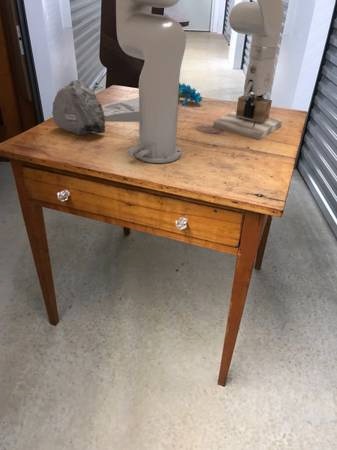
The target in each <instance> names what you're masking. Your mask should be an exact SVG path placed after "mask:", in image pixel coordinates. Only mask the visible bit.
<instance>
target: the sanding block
mask: <svg viewBox="0 0 337 450" xmlns="http://www.w3.org/2000/svg"><path fill="white" fill-rule="evenodd" d="M250 97H251V98H252V99H253V96H250ZM237 100H238V101H237V106H236V110H237V111H236V110H235V111H236V117H239V118H243V119H247V120H251V121H254V122H258V123H263V122H265V121H266V120H268V118H269V117H270V111H271V107H272V102H273V100H271V99H268V98H260V97H256V100H255V103H254V105H255V110H254V115H253V118H247V117H244V116H243V114H244V107H245V99H244V97H243V95H240V96H239V97H238V99H237Z"/></svg>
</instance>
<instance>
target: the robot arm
mask: <svg viewBox="0 0 337 450" xmlns="http://www.w3.org/2000/svg"><path fill="white" fill-rule="evenodd" d="M179 2H180V0H115V15H116V17H115V19H116V23H115V24H116V25H115V26H116V37H117V42H118V44H119V45H118V46H119V47H120V48H121V50H122V51H123V52H124V53H125V54H126V55H128V56H130V57H133V58H135V59H140V60H142V61H144V63H143V66H142V69H141V72H140V75H139V79H138V98H139V122H138V124H139V125H138V132H139V134H138V137H139V138H138V139H136V144H135V146H132V147H130V148H128V149H127V151H126V153H127V155H128V157H133V156H135V157H136V158H137V159H139V160H140V161H142V162H147V163H151V164H166V163H171V162H174V161H176V160H178V159H180V158H181V156H182V149H181V147H180V146H179V145H178V144H177V128H178V113H179V112H178V111H179V110H178V109H179V105H178V95H179V85H180V84H179V83H180V79H181V78H180V76H181V68H182V63H183V59H184V54H185V51H186V45H187V38H186V33H185V32H186V31H185V29H184V28H183V25H181V23H180V22H178V21H177V20H176V19H175V18H172V17H170V16H166V15H162V14H155V13H152V9H153V8H158V9H161V8H163V9H164V8H167V9H169V8H172V7H174V6H175V5H177V4H178V3H179ZM283 3H284V2H283V0H256V1H242V2H238V3H236V4H235V5H234V6H233V7H232V8H231V10H230V12H229V14H228V15H229V16H228V23H229V26H230V28H231V29H232V31H234V32H236V33H238V34H242V35H248V36H251V41H250V42H251V43H250V46H249V47H250V48H249V54H248V55H249V56H248V57H249V61H248V65H247V70H246V74H245V79H244V85H243V86H244V87H243V92H244V93H243V95H242V96H243V97H244V99H245V107H244V114H243V116H244V117H247V118H253V115H254V110H255V105H254V103H255V100H256V97H260V98H264V99H266V98H265V97H266V96H265V95H266V94H268V93H269V92H270V91H271V90H272V83H273V77H274V69H275V60H276V56H277V50H278V46H279V40H280V35H281V29H282V24H283V20H284V14H285V7H284V4H283ZM250 96H253V99H252V98H251V97H250Z"/></svg>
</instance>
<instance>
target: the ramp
mask: <svg viewBox="0 0 337 450" xmlns="http://www.w3.org/2000/svg"><path fill="white" fill-rule="evenodd" d="M101 106H102V109H103V111H104V120H105V122H114V123H115V122H122V123H125V122H127V123H128V122H129V123H133V122H134V123H135V122H137V123H139V97H135V98H130V99H126V100H121V101H117V102H110V103H107V104H103V105H101Z"/></svg>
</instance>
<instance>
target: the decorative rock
mask: <svg viewBox="0 0 337 450" xmlns="http://www.w3.org/2000/svg"><path fill="white" fill-rule="evenodd" d="M102 106H103V105H102V104H101V102H100V101H99V99H98V98H97V95H96V93H95V92H94V91H93V90H92V89H91V88H90V86H89V85H88V84H87V83H85V82H83V81H81V80H80V79H79V80H77V79H75V80H72V81H70V83H69V84H66V85H65V86H63V87H62V88H60V89H58V91H57V92H56V96H55V97H54V100H53V102H52V113H51V114H52V120H53V123H54V124H55V125H56V127H59V128H61V129H64V130H65V131H68V132H70V133H73V134H75V135H77V136H78V135H80V136H83V135H84V136H86V135H89V134H91V133H95V134H103V133H105V132H106V121H105V120H104V111H103V109H102Z"/></svg>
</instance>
